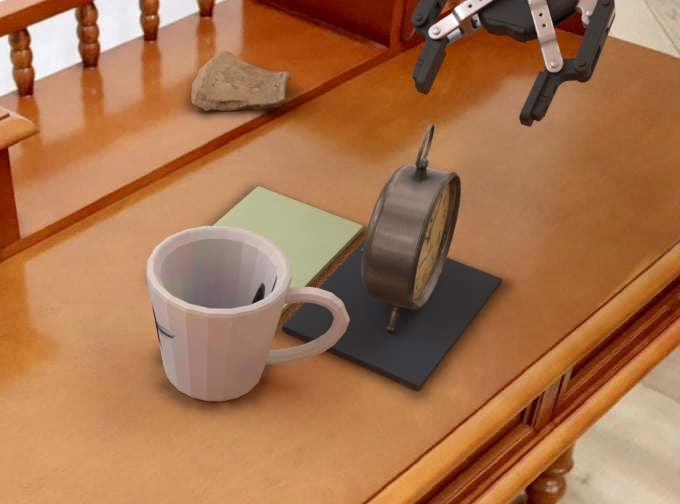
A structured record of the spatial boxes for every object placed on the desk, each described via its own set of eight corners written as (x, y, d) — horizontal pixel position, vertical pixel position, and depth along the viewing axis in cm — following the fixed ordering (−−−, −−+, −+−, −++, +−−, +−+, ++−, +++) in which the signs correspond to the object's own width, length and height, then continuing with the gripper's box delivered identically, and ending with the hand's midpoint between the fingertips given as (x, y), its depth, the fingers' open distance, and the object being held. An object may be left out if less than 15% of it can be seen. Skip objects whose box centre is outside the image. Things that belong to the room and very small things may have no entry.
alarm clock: (403, 348, 86) (441, 171, 75) (339, 326, 88) (366, 150, 77) (448, 273, 93) (488, 101, 82) (387, 254, 95) (419, 83, 84)
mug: (158, 317, 89) (159, 216, 83) (342, 340, 87) (359, 238, 80) (134, 406, 82) (133, 303, 75) (335, 433, 80) (352, 330, 73)
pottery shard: (189, 123, 114) (282, 116, 111) (181, 84, 112) (276, 75, 108) (215, 80, 122) (303, 72, 119) (208, 43, 120) (297, 33, 116)
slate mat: (501, 284, 92) (502, 278, 92) (418, 391, 83) (419, 386, 82) (372, 234, 98) (373, 229, 97) (281, 331, 88) (282, 325, 88)
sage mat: (362, 231, 98) (363, 225, 98) (270, 326, 89) (271, 320, 88) (257, 190, 103) (258, 185, 102) (159, 277, 93) (159, 271, 93)
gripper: (466, -134, 84) (377, 63, 85) (656, -95, 77) (557, 117, 78) (479, -85, 90) (397, 97, 91) (655, -46, 84) (565, 149, 85)
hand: (471, 106), depth 85 cm, fingers open, 8 cm apart
